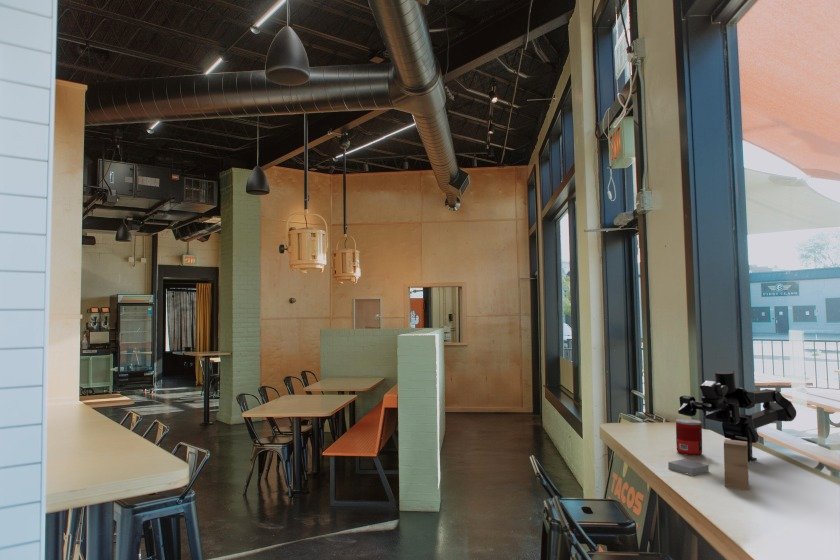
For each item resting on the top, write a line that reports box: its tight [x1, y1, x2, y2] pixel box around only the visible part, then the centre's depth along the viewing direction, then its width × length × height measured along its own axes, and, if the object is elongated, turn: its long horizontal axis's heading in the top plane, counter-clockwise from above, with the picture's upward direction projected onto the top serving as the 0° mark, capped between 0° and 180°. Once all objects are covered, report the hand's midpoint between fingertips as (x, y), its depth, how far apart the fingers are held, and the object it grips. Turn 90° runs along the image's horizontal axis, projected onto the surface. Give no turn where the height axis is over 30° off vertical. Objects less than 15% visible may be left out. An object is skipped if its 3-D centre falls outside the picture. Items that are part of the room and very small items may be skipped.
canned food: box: [675, 418, 703, 456], centre depth 188 cm, size 8×8×11 cm
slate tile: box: [667, 458, 710, 476], centre depth 167 cm, size 8×8×2 cm
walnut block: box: [723, 438, 749, 491], centre depth 153 cm, size 6×6×12 cm
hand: (691, 414), depth 170 cm, fingers open, 9 cm apart
